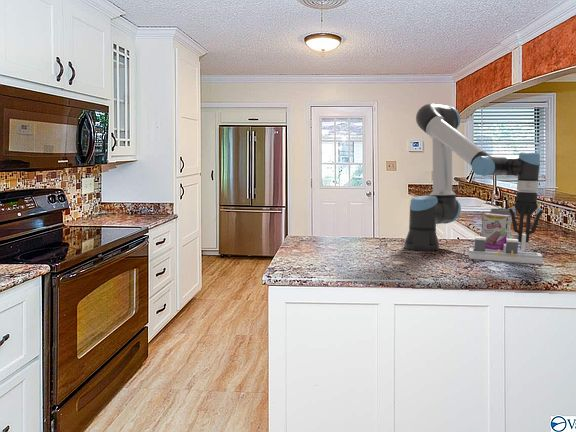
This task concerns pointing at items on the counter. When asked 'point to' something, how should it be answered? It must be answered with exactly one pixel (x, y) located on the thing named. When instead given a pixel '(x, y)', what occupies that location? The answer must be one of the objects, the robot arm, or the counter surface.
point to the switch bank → (506, 256)
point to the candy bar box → (496, 230)
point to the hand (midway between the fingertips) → (522, 250)
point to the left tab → (480, 243)
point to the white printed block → (503, 212)
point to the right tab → (511, 245)
